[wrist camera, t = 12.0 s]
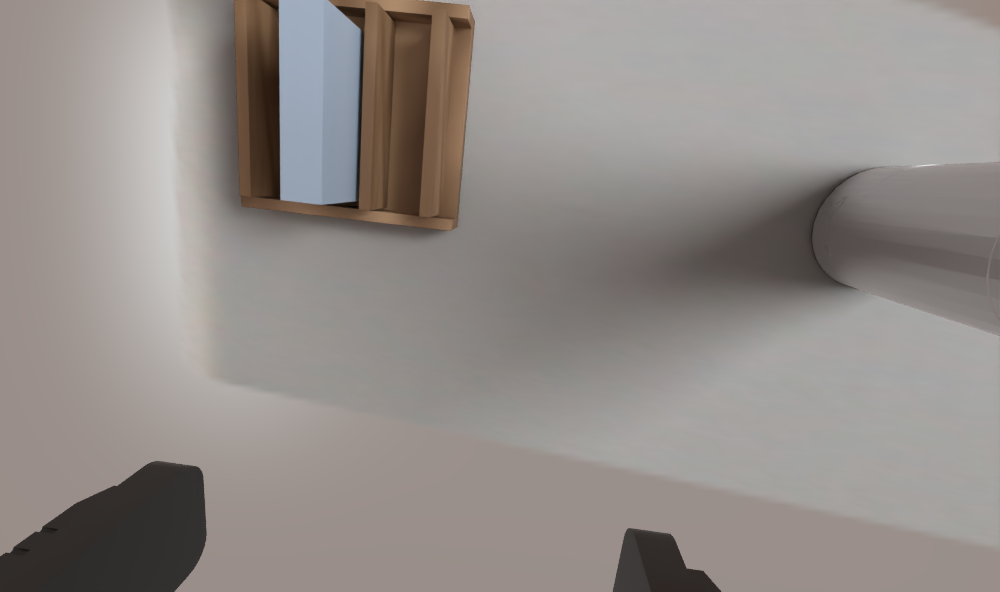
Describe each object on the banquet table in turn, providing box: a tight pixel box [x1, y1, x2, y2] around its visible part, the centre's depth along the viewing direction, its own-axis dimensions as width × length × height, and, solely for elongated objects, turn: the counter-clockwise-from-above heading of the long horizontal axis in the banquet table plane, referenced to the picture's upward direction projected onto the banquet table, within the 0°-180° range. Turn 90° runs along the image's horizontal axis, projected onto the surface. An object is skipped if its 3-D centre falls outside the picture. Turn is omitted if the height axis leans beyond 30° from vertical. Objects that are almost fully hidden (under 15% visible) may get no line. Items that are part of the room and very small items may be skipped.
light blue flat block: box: [279, 0, 364, 205], centre depth 30 cm, size 2×11×9 cm, turn 174°
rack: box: [234, 0, 475, 231], centre depth 33 cm, size 16×15×5 cm
